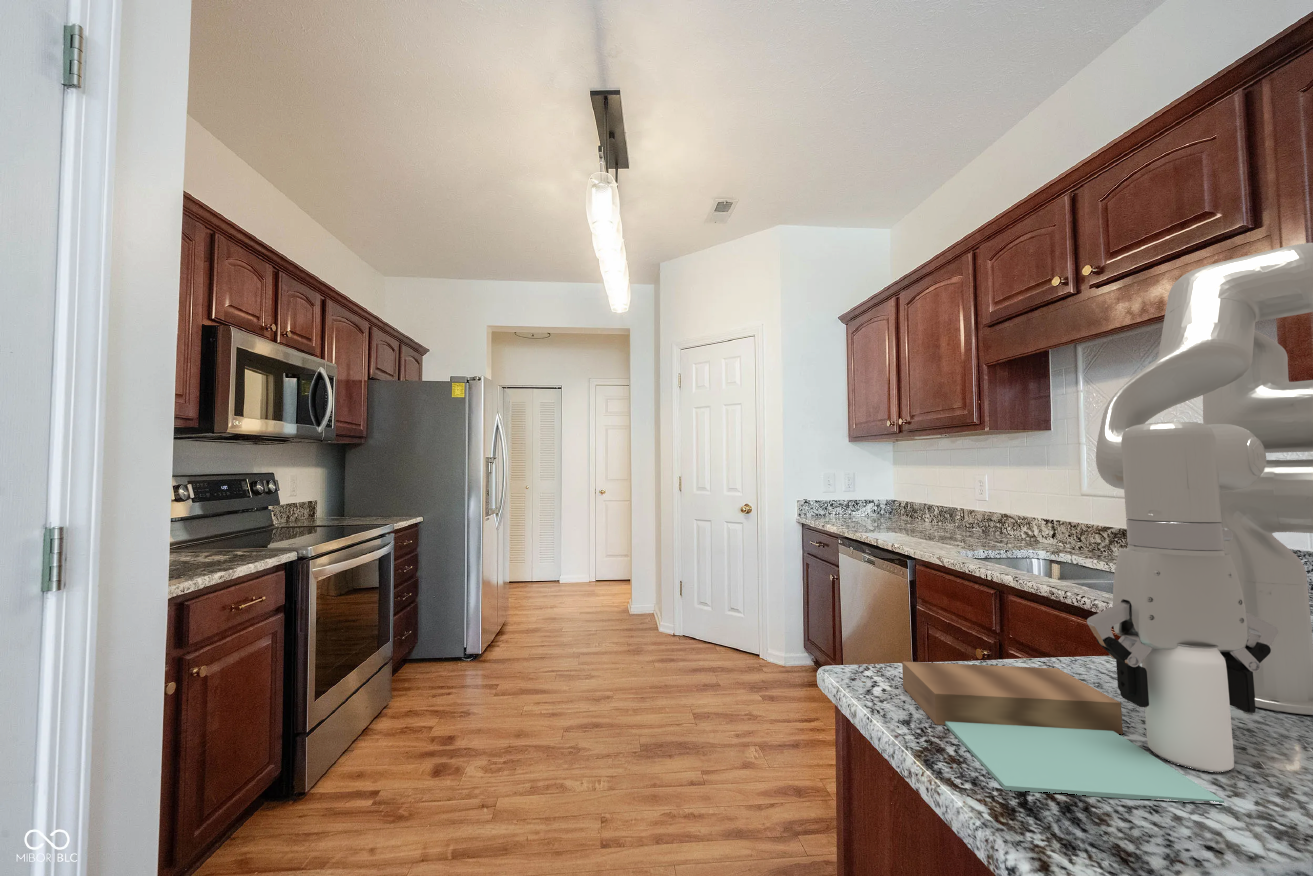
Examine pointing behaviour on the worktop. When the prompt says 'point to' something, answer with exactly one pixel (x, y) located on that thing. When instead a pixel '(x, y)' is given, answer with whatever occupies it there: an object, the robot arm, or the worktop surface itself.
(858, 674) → the worktop surface
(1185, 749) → the can
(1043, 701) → the board
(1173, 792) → the mat
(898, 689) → the worktop surface
